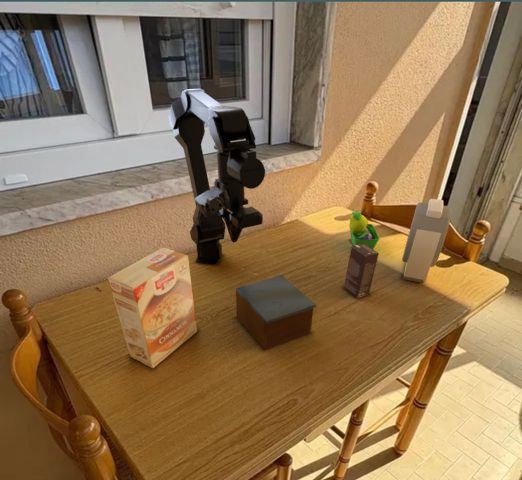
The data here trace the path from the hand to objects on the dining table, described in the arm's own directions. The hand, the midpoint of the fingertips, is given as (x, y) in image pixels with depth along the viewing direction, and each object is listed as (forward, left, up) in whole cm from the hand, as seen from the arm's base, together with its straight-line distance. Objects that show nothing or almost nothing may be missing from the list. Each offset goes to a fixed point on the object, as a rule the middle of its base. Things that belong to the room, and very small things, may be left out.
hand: (234, 241), depth 94 cm
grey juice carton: (+48, +19, -13) cm, 53 cm away
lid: (+13, -15, -5) cm, 21 cm away
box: (+32, +5, -13) cm, 35 cm away
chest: (+13, -14, -13) cm, 23 cm away
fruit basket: (+32, +32, -13) cm, 47 cm away
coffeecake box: (-9, -27, -13) cm, 31 cm away
